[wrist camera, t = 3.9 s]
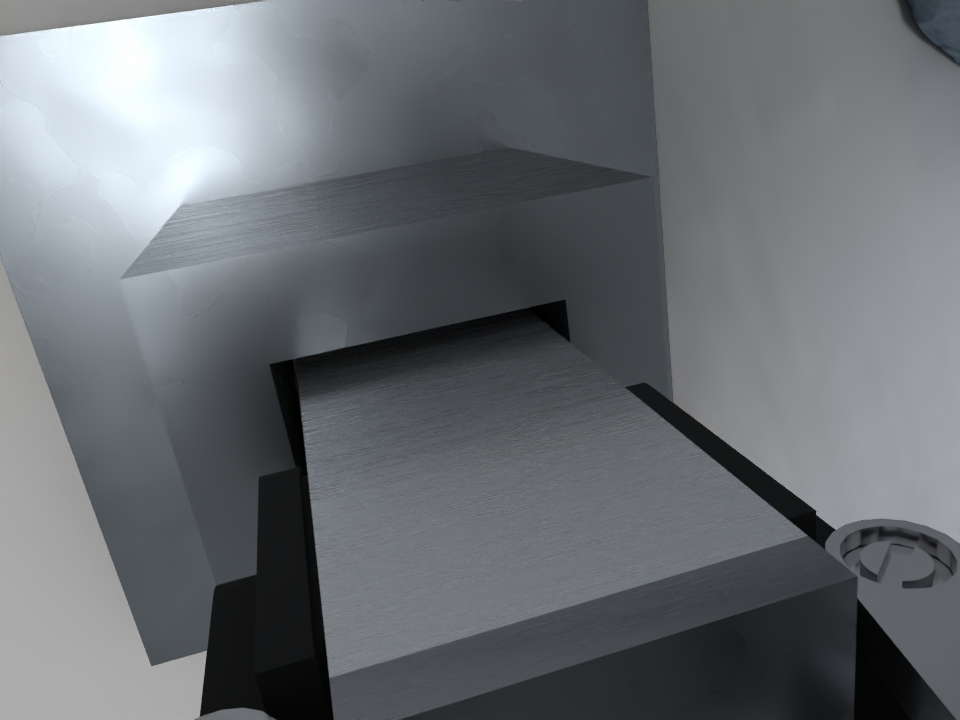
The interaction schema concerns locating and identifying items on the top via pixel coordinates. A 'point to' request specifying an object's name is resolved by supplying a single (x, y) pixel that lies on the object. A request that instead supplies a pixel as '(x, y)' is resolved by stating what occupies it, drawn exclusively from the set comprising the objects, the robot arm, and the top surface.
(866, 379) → the top surface
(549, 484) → the steel post
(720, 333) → the top surface
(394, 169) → the sleeve
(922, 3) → the moka pot
